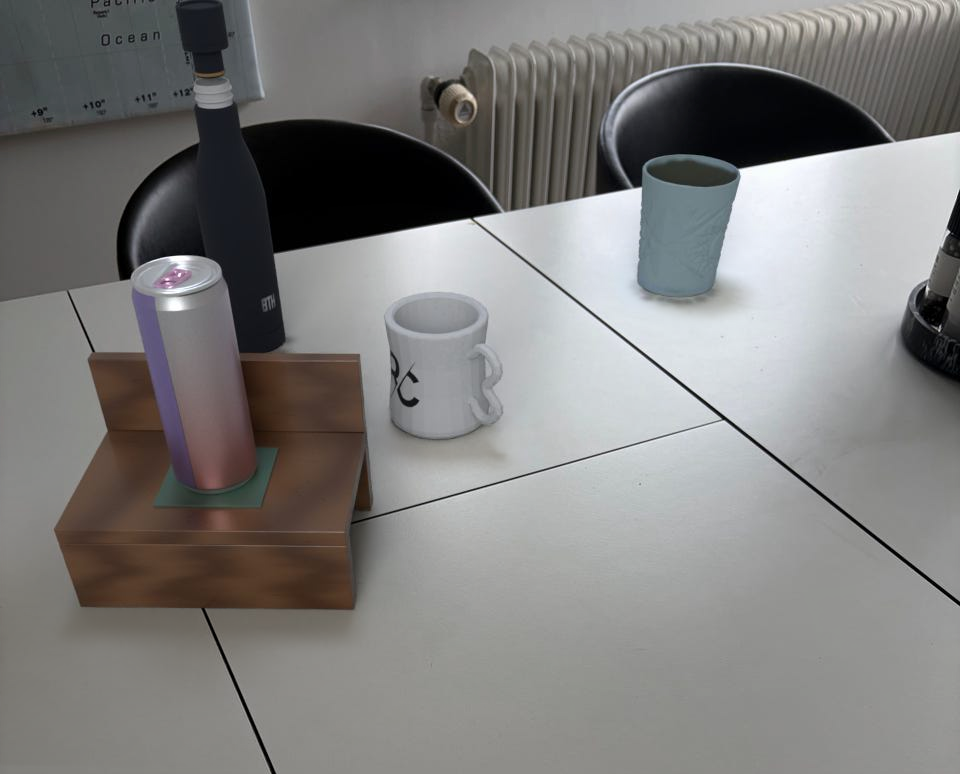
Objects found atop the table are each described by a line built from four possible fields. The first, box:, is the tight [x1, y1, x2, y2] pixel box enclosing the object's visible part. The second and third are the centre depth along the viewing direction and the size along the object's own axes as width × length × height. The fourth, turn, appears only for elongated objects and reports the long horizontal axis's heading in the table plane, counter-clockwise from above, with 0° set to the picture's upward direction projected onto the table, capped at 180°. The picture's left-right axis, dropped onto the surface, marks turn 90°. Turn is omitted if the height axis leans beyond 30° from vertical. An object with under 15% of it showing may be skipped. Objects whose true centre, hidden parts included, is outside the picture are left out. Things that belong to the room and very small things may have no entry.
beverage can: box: [130, 254, 258, 494], centre depth 70 cm, size 6×6×15 cm
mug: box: [383, 291, 504, 440], centre depth 91 cm, size 12×9×10 cm
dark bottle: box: [174, 0, 286, 353], centre depth 96 cm, size 6×6×30 cm
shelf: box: [53, 351, 374, 611], centre depth 76 cm, size 20×14×13 cm
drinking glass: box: [636, 153, 742, 298], centre depth 113 cm, size 10×10×12 cm
